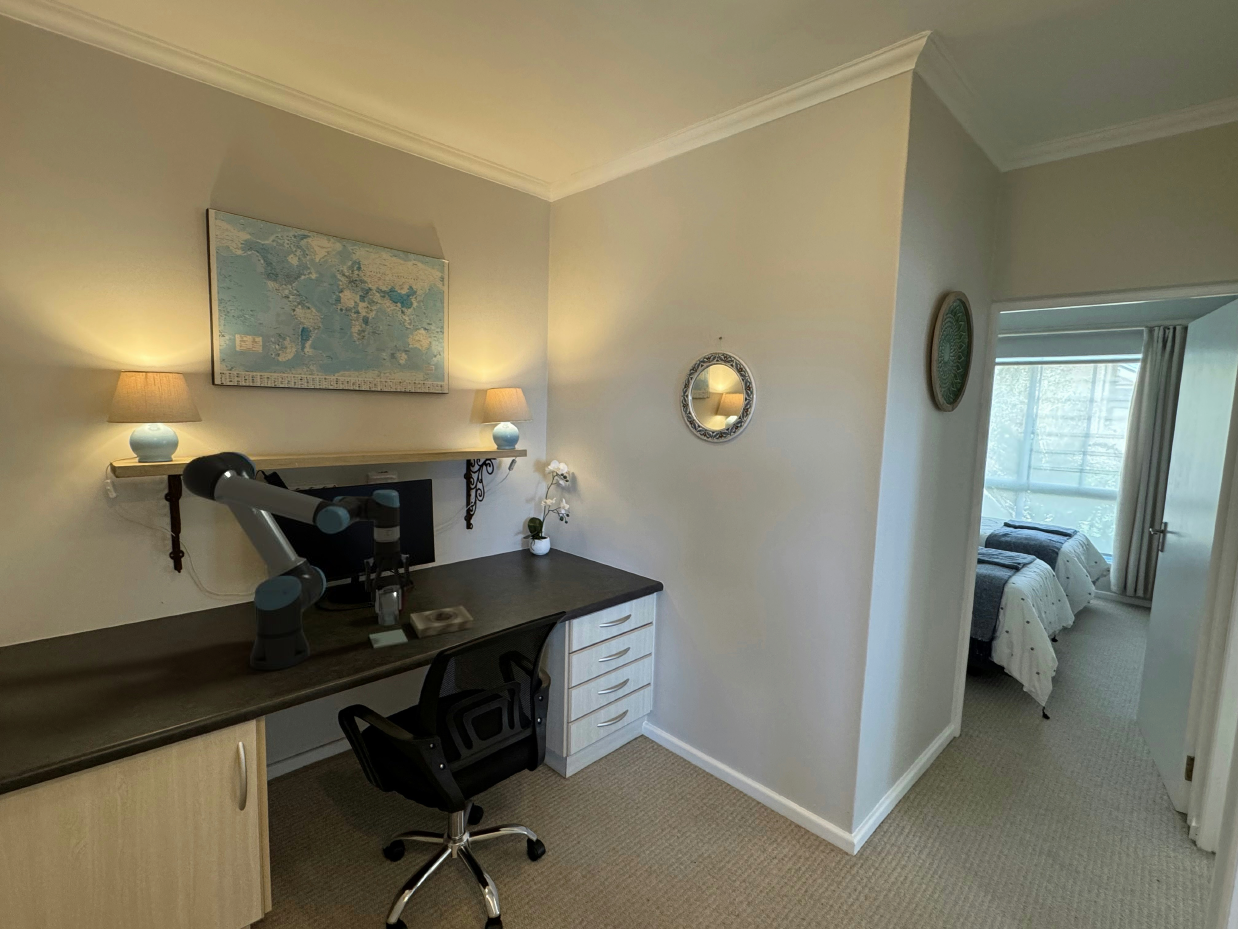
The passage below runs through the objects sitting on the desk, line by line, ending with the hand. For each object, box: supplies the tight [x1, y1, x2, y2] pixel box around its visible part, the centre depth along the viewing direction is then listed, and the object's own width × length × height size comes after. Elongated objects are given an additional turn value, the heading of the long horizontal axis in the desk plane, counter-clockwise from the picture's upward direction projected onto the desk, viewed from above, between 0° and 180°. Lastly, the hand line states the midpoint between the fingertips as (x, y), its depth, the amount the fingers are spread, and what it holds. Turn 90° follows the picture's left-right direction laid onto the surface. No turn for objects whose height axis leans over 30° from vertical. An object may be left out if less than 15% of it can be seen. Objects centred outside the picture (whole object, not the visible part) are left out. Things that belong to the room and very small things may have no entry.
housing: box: [409, 605, 475, 639], centre depth 198 cm, size 18×14×3 cm
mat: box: [368, 629, 409, 650], centre depth 186 cm, size 10×10×1 cm
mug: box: [373, 584, 407, 617], centre depth 203 cm, size 11×8×10 cm
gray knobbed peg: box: [377, 586, 399, 626], centre depth 184 cm, size 6×6×11 cm
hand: (388, 609), depth 185 cm, fingers closed on gray knobbed peg, 6 cm apart
